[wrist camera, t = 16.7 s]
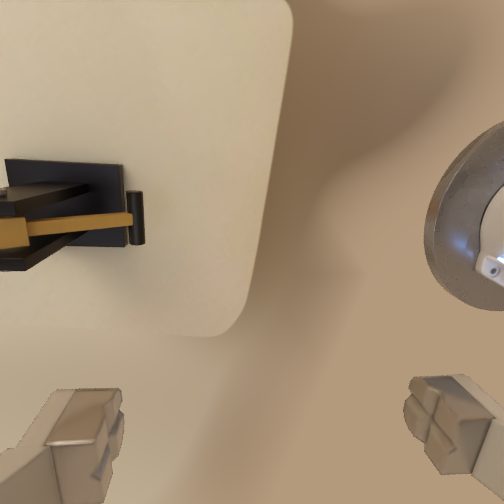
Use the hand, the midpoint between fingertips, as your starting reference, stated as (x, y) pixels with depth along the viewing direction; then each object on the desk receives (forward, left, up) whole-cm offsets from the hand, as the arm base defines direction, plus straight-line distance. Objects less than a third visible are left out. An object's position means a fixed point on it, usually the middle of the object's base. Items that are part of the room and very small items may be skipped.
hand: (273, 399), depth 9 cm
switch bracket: (+14, +10, -29) cm, 34 cm away
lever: (+11, +8, -21) cm, 25 cm away
